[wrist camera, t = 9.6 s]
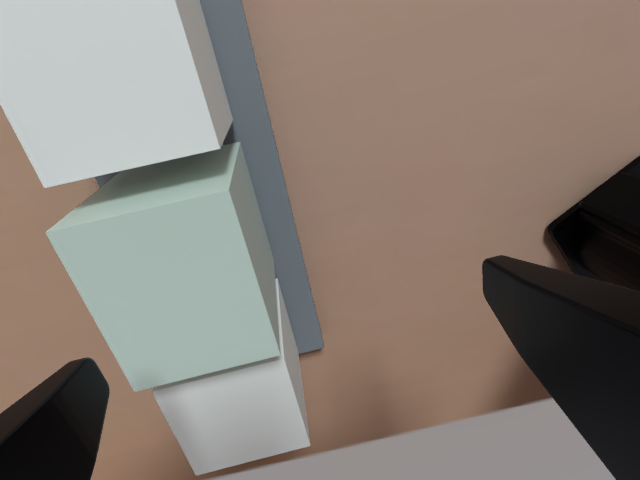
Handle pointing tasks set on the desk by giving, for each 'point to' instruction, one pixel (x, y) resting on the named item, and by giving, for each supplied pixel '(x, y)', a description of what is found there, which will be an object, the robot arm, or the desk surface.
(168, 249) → the block
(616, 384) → the robot arm
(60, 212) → the desk surface
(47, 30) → the rail board
